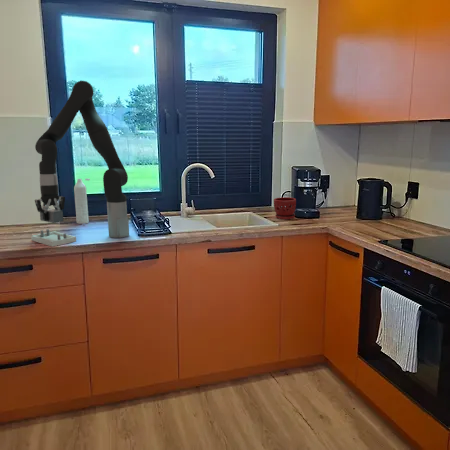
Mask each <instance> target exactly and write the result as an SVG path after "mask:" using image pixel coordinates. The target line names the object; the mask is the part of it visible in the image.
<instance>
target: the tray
mask: <svg viewBox="0 0 450 450" xmlns="http://www.w3.org/2000/svg"><path fill="white" fill-rule="evenodd" d="M30 237H31V241H32V242H35V243H40V244H42V245H45V246H49V247H56V246H57V245H58V246H61V245H65V244H70V243H74V242H77V236H74V235H72V234H71V235H70V234H67V233H63V232H59V231H55V230H54V231H50V228H48V229H46V232H44V230H43V229H41V230H40V233H39V234H34V235H30Z"/></svg>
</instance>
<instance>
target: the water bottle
mask: <svg viewBox="0 0 450 450" xmlns="http://www.w3.org/2000/svg"><path fill="white" fill-rule="evenodd" d="M84 179H85V180H84V181H91V178H89V177H88V178H84ZM76 180H77V181H76V183H75V185H74V186H73V191H74V193H73V194H74V205H75V215H76V216H75V218H76V224H77V225H78V224H79V225H84V224H88V223H89V222H90V221H89V208H88V207H89V206H88V197H87V195H88V194H87V186H86V185H85V183H84V182H83V180H82V178H77V179H76Z"/></svg>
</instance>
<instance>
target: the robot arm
mask: <svg viewBox="0 0 450 450" xmlns="http://www.w3.org/2000/svg"><path fill="white" fill-rule="evenodd" d="M93 96H94V87H93V85H92V84H91V83H90V82H88V81H86V80H79V81H77V82H76V83H75V84H74V85H73V86H72V91H71V92H70V95H69V97H68V99H67V101H66V103H65V104H64V106H63V107H62V109H61V110H60V112H59V113H58V114H57V116H56V117H55V118H54V119H53V121H52V123H50V125H49V126H48V129H47V130H46V131H45V132H44V133H43V134H42V135H40V137H39V138H38V139H37V141H36V143H35V145H34V147H35V151H36V152H37V153H38V154H40V155H41V160H40V161H39V164H38V167H39V170H38V171H39V187H40V198H38V199H34V203H35V207H36V210H37V212H38V213H40V212H41V213H42V215H43V220H44V221H43V222H46V221H48V216H47V210H48V208H49V207H51V206H52V207H53V209H56V210H62V211H63V210H64V209H65V202H66V197H65V196H63V195H61V196H60V195H59V184H58V183H59V182H58V181H59V179H58V176H57V175H58V174H57V166H56V165H57V157H58V146H57V144H56V143H57V142H58V141H60V140H62V138H63V137H64V136H65V135H66V133H67V132H68V130H69V128H70V127H71V125H72V123H74V122H73V121H74V120H75V118H76V116H77V114H78V112H80V115H81V117H82V120H83V123H84V126H85V128H86V132H87V135H88V137H89V139H90V140H89V141H90V142H91V145H92V146H93V148H94V149H95V150H96V151H97V153H98V154H99V155H100V156H101V157H102V159H103V160H104V161H105V163H106V166H107V168H108V169H106V170H105V171H104V173H103V177H102V183H103V192H104V197H105V199H106V209H107V210H106V211H107V224H108V225H107V228H108V237H110V238H114V239H121V238H126V237H129V236H130V225H129V224H130V222H129V217H128V210H127V208H128V207H127V196H126V194H124V193H123V189H122V187H123V186H125V185H126V184H127V183H128V179H129V177H128V173H127V170H126V169H125V166H124V164H123V163H122V161H121V159H120V157H119V155H118V151H117V150H116V148H115V144H114V143H113V140H112V138H111V134H110V131H109V130H108V127H107V125H106V123H105V122H104V120H103V119H102V118H101V116H99V114H98V112H97V110H96V109H97V108H96V106H95V103H94V100H93ZM58 201H59V202H58Z"/></svg>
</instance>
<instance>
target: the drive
mask: <svg viewBox="0 0 450 450" xmlns="http://www.w3.org/2000/svg"><path fill="white" fill-rule="evenodd" d="M47 216H48V221H44V220H43V215H42V213H41V212H39V217H40V218H39V219H40V221H42V222H46V223H51V224H55V223H61V222H64V213H63V209H62V210H56V209H55V208H48V210H47Z"/></svg>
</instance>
